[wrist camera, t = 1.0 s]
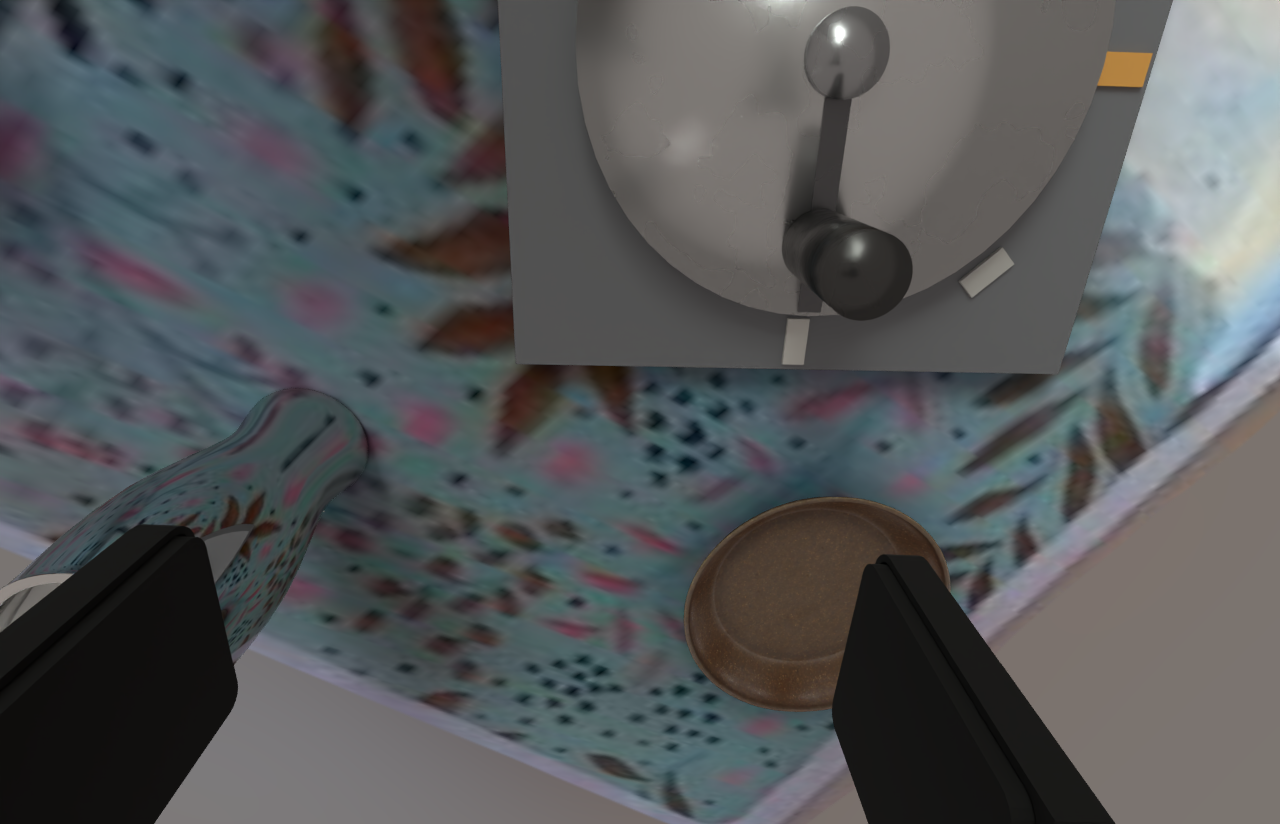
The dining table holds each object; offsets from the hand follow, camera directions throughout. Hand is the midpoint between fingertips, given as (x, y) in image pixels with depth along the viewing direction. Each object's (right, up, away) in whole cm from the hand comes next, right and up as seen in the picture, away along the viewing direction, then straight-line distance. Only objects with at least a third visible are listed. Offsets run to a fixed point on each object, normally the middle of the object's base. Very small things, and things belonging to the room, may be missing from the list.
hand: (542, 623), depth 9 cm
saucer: (+11, -7, +29) cm, 32 cm away
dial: (+9, +17, +16) cm, 25 cm away
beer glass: (-16, +2, +24) cm, 29 cm away
